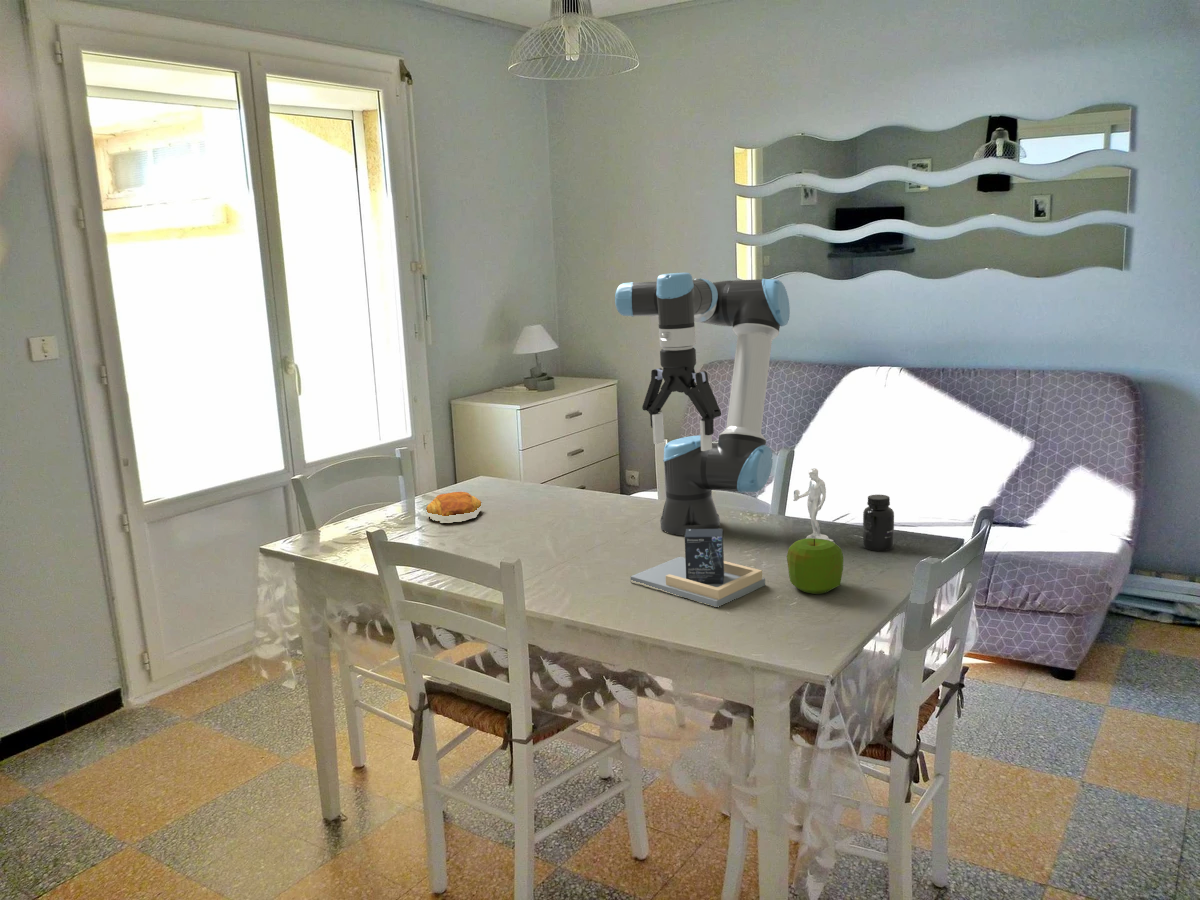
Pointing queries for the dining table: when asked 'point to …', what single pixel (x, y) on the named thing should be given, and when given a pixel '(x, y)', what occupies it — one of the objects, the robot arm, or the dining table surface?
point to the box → (704, 555)
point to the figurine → (814, 502)
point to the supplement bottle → (878, 524)
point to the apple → (815, 565)
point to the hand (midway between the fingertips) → (682, 446)
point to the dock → (715, 594)
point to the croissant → (453, 504)
